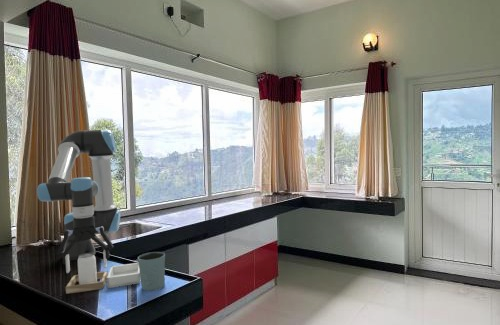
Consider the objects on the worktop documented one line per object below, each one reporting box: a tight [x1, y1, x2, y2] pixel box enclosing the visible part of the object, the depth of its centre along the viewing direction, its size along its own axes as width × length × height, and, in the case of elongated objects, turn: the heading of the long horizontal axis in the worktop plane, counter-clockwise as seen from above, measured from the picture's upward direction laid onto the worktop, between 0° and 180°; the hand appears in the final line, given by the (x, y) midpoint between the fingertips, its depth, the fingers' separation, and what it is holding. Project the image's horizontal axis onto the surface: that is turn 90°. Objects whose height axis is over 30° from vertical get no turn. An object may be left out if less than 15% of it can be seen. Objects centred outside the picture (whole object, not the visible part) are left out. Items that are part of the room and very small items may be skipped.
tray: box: [106, 262, 141, 289], centre depth 137 cm, size 14×12×4 cm
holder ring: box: [65, 270, 109, 295], centre depth 133 cm, size 13×13×2 cm
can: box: [77, 253, 98, 285], centre depth 133 cm, size 6×6×12 cm
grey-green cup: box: [137, 251, 166, 292], centre depth 128 cm, size 10×10×12 cm
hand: (87, 269), depth 133 cm, fingers open, 13 cm apart
